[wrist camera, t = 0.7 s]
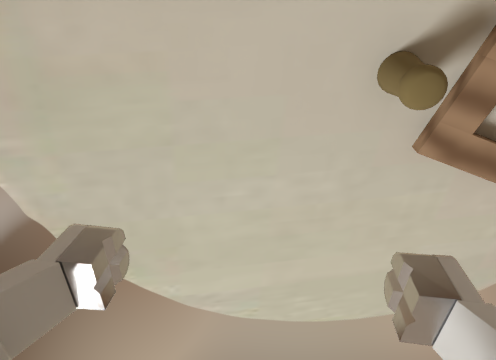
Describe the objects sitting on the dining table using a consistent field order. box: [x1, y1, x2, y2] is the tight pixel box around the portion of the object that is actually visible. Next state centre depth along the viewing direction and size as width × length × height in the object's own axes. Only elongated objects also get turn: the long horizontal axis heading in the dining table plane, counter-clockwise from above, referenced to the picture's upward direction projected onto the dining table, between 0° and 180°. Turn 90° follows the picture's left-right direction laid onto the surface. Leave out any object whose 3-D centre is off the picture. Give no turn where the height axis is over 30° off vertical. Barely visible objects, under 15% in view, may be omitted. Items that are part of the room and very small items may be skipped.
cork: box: [377, 51, 448, 110], centre depth 41 cm, size 6×6×11 cm
